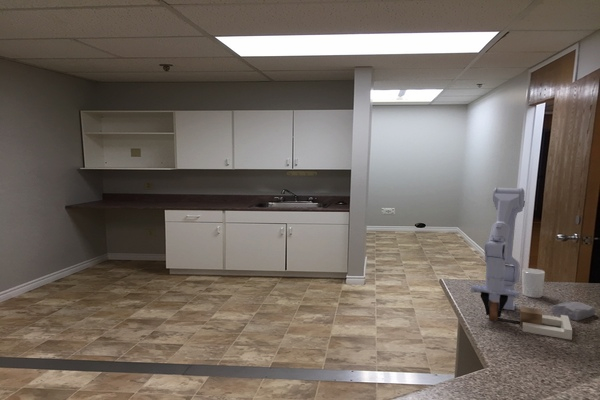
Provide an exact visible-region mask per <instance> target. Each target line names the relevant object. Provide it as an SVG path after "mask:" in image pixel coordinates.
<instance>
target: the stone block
mask: <svg viewBox="0 0 600 400" xmlns="http://www.w3.org/2000/svg"><path fill="white" fill-rule="evenodd" d="M551 312H552V314H554V315H556V316H557V317H558V316H559V317H561V315H566V316H568V318H569V320H573V321H576V322H578V321H582V320H584V319H587V318H591V317H593V316H594V315H596V308H595V306H591V305H589V304H586V303H584V302H579V301H564V302H563V301H562V302H560V303H557V304H554V305H551Z"/></svg>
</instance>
